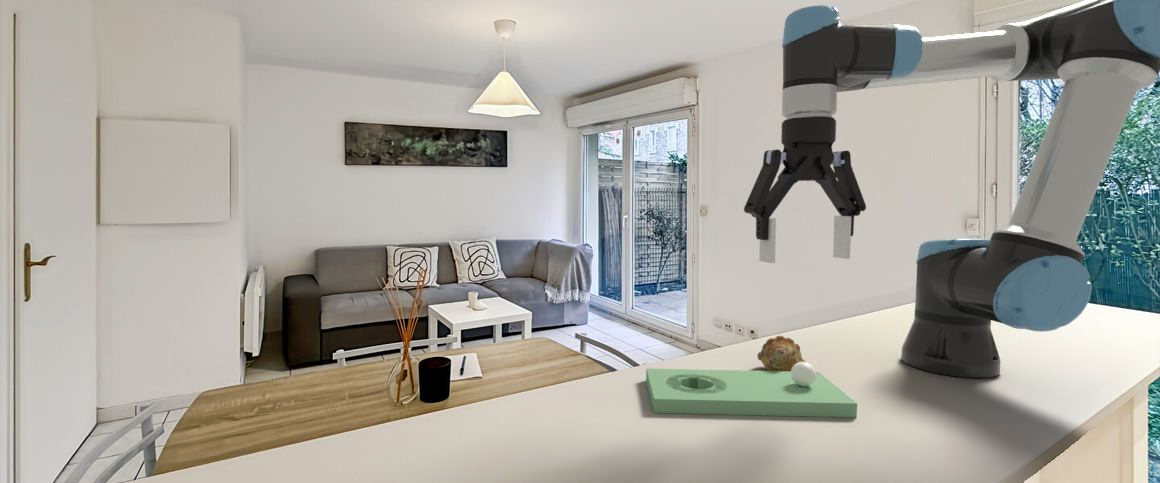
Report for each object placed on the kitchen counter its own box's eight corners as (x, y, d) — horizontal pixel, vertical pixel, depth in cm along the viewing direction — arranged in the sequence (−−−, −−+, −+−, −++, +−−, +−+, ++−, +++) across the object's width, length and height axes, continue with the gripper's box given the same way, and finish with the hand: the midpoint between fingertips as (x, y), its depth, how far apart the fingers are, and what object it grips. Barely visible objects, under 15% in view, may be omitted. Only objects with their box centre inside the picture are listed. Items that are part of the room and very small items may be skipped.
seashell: (813, 395, 97) (812, 352, 92) (764, 399, 99) (760, 357, 94) (801, 357, 105) (799, 315, 100) (755, 361, 106) (751, 320, 101)
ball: (810, 382, 88) (811, 359, 87) (819, 390, 84) (820, 366, 84) (786, 381, 88) (787, 358, 88) (794, 389, 84) (795, 365, 84)
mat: (818, 384, 93) (818, 372, 93) (856, 417, 79) (857, 403, 79) (646, 380, 94) (646, 368, 94) (654, 412, 80) (654, 398, 80)
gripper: (856, 123, 92) (852, 253, 94) (721, 118, 84) (719, 260, 86) (895, 117, 85) (889, 258, 87) (751, 111, 77) (749, 266, 79)
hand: (805, 260), depth 86 cm, fingers open, 13 cm apart
